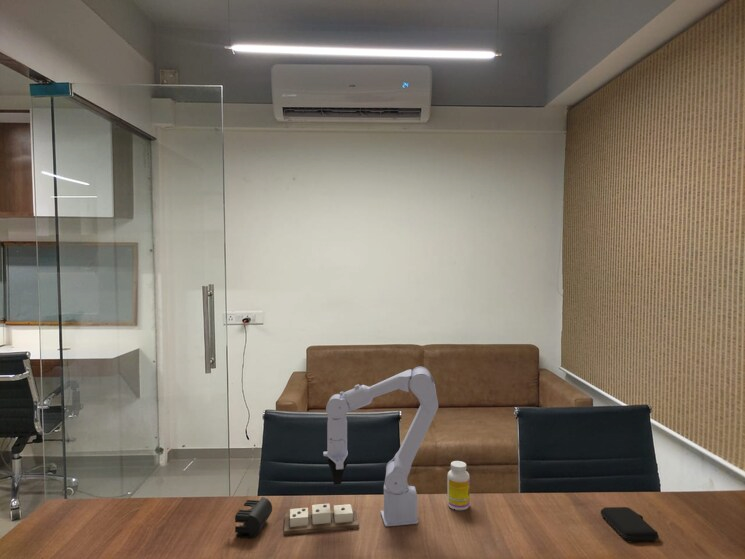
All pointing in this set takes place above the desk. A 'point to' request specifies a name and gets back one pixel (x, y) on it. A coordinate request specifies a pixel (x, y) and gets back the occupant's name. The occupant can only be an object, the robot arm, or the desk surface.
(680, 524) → the desk surface
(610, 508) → the black rounded phone case
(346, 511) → the tile one
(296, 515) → the tile three
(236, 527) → the end cap
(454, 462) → the supplement bottle
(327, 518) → the tile two
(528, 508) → the desk surface
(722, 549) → the desk surface
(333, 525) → the tile tray
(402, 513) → the robot arm
